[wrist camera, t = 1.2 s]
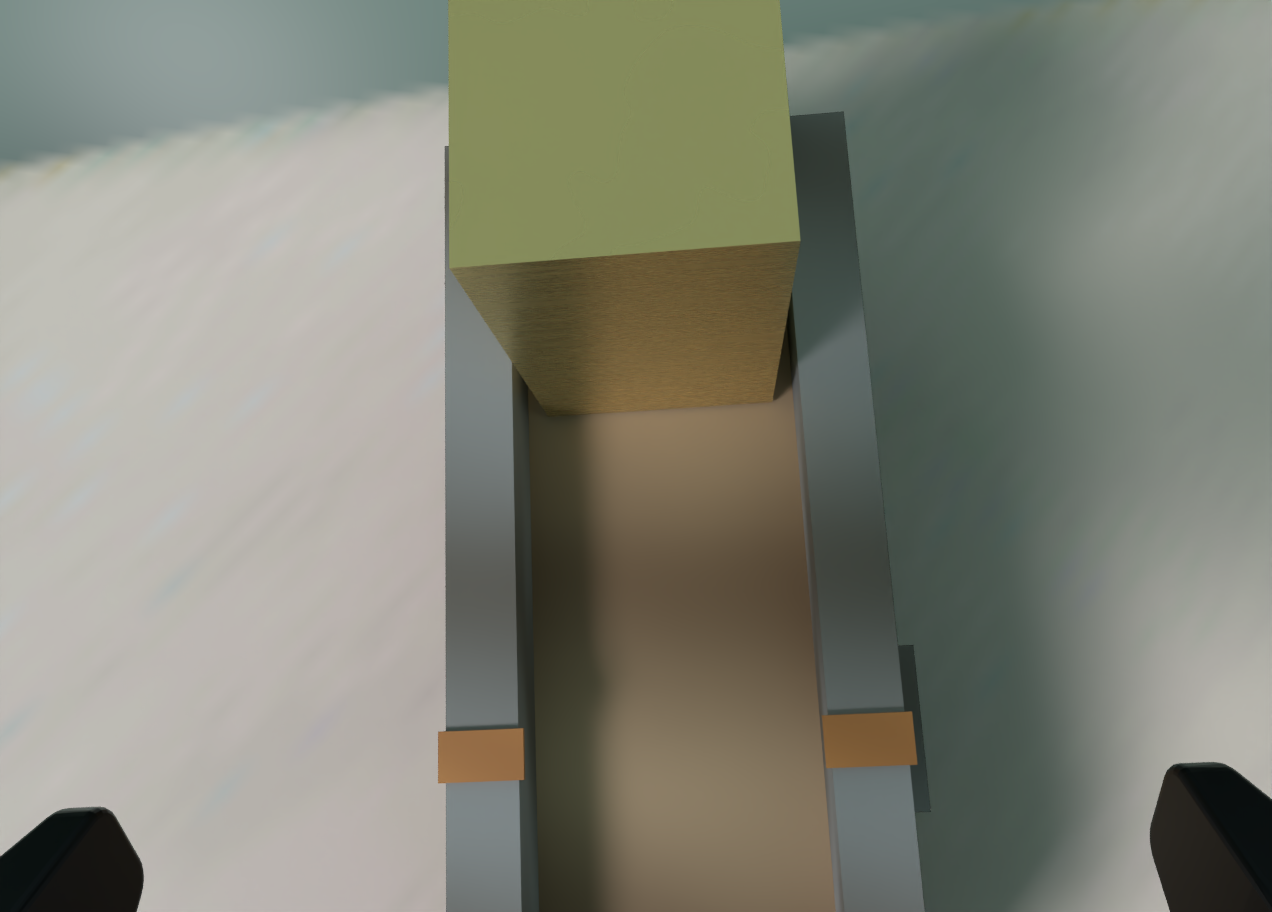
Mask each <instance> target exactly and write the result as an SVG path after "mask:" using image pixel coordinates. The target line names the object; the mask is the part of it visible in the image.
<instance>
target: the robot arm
mask: <svg viewBox="0 0 1272 912" xmlns="http://www.w3.org/2000/svg"><path fill="white" fill-rule="evenodd" d="M1150 845H1151V850H1152V855H1153V859H1154V862H1155V865H1156V868H1157V872H1158V875H1159V878H1160V881H1161V884H1162V888H1163V891H1164V894H1165V897H1166V900H1167V903H1168V907H1169V910H1170V912H1272V799H1271V798H1270V797H1268V796H1267V795H1266V794H1265V793H1263V792H1262V791H1261V790H1260V789H1258V788H1257V787H1256V786H1255V785H1253V784H1252V783H1251V782H1250V781H1248V780H1247V779H1246V778H1245V777H1243V776H1242V775H1241V774H1240V773H1238V772H1237V771H1236V770H1234V769H1233V768H1231V767H1229V766H1227V765H1225V764H1222V763H1217V762H1202V763H1179V764H1174V765H1173V766H1171V767H1170V768H1169V769H1168V770H1167V772H1166V774H1165V777H1164V780H1163V784H1162V787H1161V791H1160V794H1159V798H1158V801H1157V805H1156V808H1155V812H1154V815H1153V819H1152V822H1151V827H1150ZM143 881H144V875H143V867H142V863H141V861H140V858H139V857H138V855H137V853H136V851H135V850H134V848H133V846H132V845H131V843H130V841H129V839H128V838H127V836H126V834H125V832H124V831H123V829H122V827H121V825H120V824H119V822H118V820H117V818H116V817H115V815H114V814H113V813H112V812H111V811H110V810H108V809H106V808H104V807H82V808H67V809H62V810H59V811H57V812H55V813H53V814H52V815H50V816H49V817H47V818H46V819H45V820H44V821H42V822H41V823H40V824H39V825H38V826H36V827H35V828H34V829H33V830H32V831H30V832H29V833H28V834H27V835H26V836H24V837H23V838H22V839H21V840H20V841H18V842H17V843H16V844H15V845H14V846H12V847H11V848H10V849H9V850H8V851H6V852H5V853H4V854H3V855H1V856H0V912H137V908H138V905H139V901H140V898H141V894H142V889H143Z"/></svg>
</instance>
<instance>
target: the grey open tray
mask: <svg viewBox="0 0 1272 912" xmlns="http://www.w3.org/2000/svg"><path fill="white" fill-rule="evenodd" d="M790 127H791V138H792V149H793V161H794V172H795V184H796V195H797V206H798V218H799V229H800V240H801V241H800V247H799V252H798V258H797V264H796V269H795V275H794V281H793V286H792V292H791V298H790V304H789V309H788V315H787V321H786V326H785V332H784V338H783V343H782V349H781V355H780V360H779V366H778V372H777V377H776V383H775V389H774V395H773V400H772V402H769V403H754V404H739V405H724V406H709V407H693V408H678V409H663V410H648V411H633V412H618V413H603V414H587V415H572V416H557V417H548V415H547V414H546V412H545V411H544V409H543V408H542V406H541V405H540V403H539V402H538V400H537V399H536V397H535V396H534V394H533V393H532V391H531V390H530V388H529V387H528V385H527V384H526V382H525V381H524V379H523V378H522V376H521V375H520V373H519V372H518V370H517V369H516V367H515V366H514V364H513V363H512V361H511V360H510V358H509V357H508V355H507V354H506V352H505V351H504V349H503V348H502V346H501V345H500V343H499V342H498V340H497V339H496V337H495V336H494V334H493V333H492V331H491V330H490V328H489V327H488V325H487V324H486V322H485V321H484V319H483V318H482V316H481V315H480V313H479V312H478V310H477V309H476V307H475V306H474V304H473V303H472V301H471V300H470V298H469V297H468V295H467V294H466V292H465V291H464V289H463V288H462V286H461V285H460V283H459V282H458V280H457V279H456V277H455V276H454V274H453V273H452V271H451V270H450V268H449V146H445V491H446V731H444V732H438V783H446V912H925V909H924V899H923V889H922V880H921V870H920V860H919V850H918V840H917V830H916V821H915V812H931V810H930V800H929V791H928V781H927V772H926V762H925V753H924V743H923V734H922V724H921V715H920V705H919V695H918V686H917V676H916V667H915V657H914V648H913V645H904V646H898V643H897V633H896V624H895V614H894V604H893V594H892V584H891V574H890V565H889V555H888V545H887V535H886V525H885V515H884V505H883V496H882V486H881V476H880V466H879V456H878V446H877V436H876V427H875V417H874V407H873V397H872V387H871V377H870V368H869V358H868V348H867V338H866V328H865V318H864V308H863V299H862V289H861V279H860V269H859V259H858V249H857V240H856V230H855V220H854V210H853V200H852V190H851V180H850V171H849V161H848V151H847V141H846V131H845V121H844V112H833V113H821V114H810V115H798V116H790Z"/></svg>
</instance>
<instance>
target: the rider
mask: <svg viewBox="0 0 1272 912" xmlns="http://www.w3.org/2000/svg"><path fill="white" fill-rule="evenodd" d="M448 1H449V4H448V6H449V8H448V10H449V11H448V15H449V268H450V270H451V271H452V273H453V274H454V276H455V277H456V279H457V280H458V282H459V283H460V285H461V286H462V288H463V289H464V291H465V292H466V294H467V295H468V297H469V298H470V300H471V301H472V303H473V304H474V306H475V307H476V309H477V310H478V312H479V313H480V315H481V316H482V318H483V319H484V321H485V322H486V324H487V325H488V327H489V328H490V330H491V331H492V333H493V334H494V336H495V337H496V339H497V340H498V342H499V343H500V345H501V346H502V348H503V349H504V351H505V352H506V354H507V355H508V357H509V358H510V360H511V361H512V363H513V364H514V366H515V367H516V369H517V370H518V372H519V373H520V375H521V376H522V378H523V379H524V381H525V382H526V384H527V385H528V387H529V388H530V390H531V391H532V393H533V394H534V396H535V397H536V399H537V400H538V402H539V403H540V405H541V406H542V408H543V409H544V411H545V412H546V414H547V415H548V417H557V416H572V415H587V414H603V413H618V412H633V411H648V410H663V409H678V408H693V407H709V406H724V405H739V404H754V403H769V402H772V400H773V395H774V389H775V383H776V377H777V372H778V366H779V360H780V355H781V349H782V343H783V338H784V332H785V326H786V321H787V315H788V309H789V304H790V298H791V292H792V286H793V281H794V275H795V269H796V264H797V258H798V252H799V247H800V241H801V240H800V229H799V218H798V206H797V195H796V184H795V172H794V161H793V149H792V138H791V127H790V115H789V104H788V93H787V81H786V70H785V59H784V47H783V36H782V24H781V13H780V2H779V0H448Z"/></svg>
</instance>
